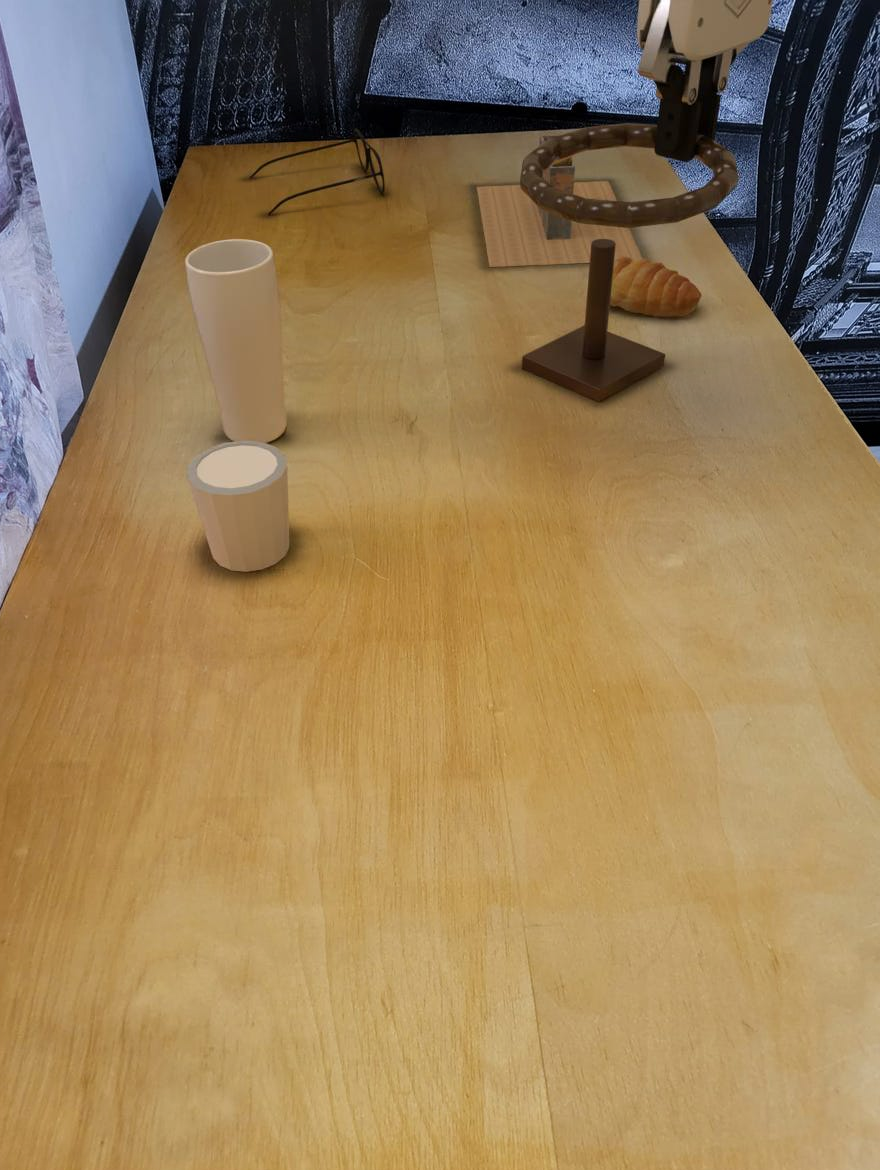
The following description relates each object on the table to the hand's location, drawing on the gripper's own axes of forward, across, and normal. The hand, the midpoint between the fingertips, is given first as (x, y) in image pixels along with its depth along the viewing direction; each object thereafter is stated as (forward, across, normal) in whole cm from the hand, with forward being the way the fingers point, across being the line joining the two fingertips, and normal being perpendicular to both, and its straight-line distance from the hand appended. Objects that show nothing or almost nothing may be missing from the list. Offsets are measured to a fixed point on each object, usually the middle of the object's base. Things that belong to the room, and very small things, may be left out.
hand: (683, 151), depth 78 cm
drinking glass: (+19, -29, +19) cm, 40 cm away
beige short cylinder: (+19, -39, +6) cm, 44 cm away
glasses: (+19, +13, +62) cm, 66 cm away
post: (+19, -1, +6) cm, 20 cm away
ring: (0, -7, 0) cm, 7 cm away
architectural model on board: (+19, +24, +32) cm, 44 cm away
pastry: (+19, +13, +10) cm, 25 cm away
